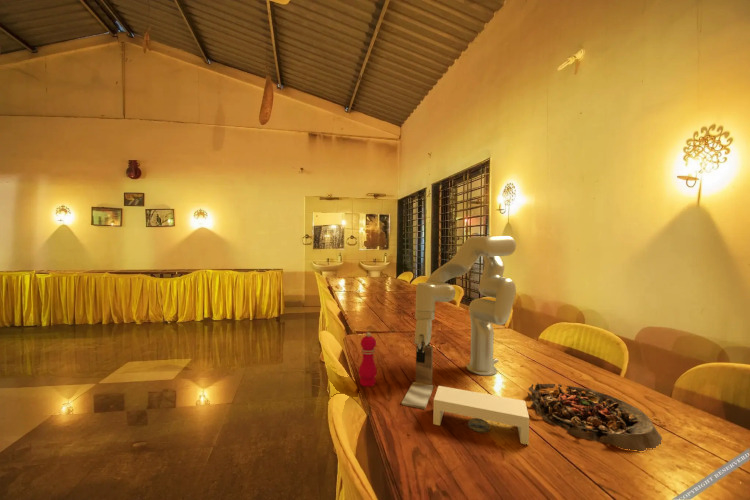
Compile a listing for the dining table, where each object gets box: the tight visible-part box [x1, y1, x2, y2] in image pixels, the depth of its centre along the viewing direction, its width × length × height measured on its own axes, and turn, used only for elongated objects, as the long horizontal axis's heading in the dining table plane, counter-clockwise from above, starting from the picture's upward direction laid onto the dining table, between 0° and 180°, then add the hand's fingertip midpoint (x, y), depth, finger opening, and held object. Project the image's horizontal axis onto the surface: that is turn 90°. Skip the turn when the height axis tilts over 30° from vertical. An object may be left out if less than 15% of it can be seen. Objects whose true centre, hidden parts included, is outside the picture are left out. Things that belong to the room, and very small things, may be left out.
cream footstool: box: [432, 385, 530, 446], centre depth 91 cm, size 10×26×8 cm, turn 70°
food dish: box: [527, 383, 663, 451], centre depth 97 cm, size 35×33×8 cm
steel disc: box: [467, 417, 490, 434], centre depth 90 cm, size 6×6×1 cm
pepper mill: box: [358, 331, 378, 388], centre depth 118 cm, size 7×7×20 cm
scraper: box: [401, 344, 434, 410], centre depth 110 cm, size 20×8×15 cm, turn 160°
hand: (423, 358), depth 118 cm, fingers open, 9 cm apart
